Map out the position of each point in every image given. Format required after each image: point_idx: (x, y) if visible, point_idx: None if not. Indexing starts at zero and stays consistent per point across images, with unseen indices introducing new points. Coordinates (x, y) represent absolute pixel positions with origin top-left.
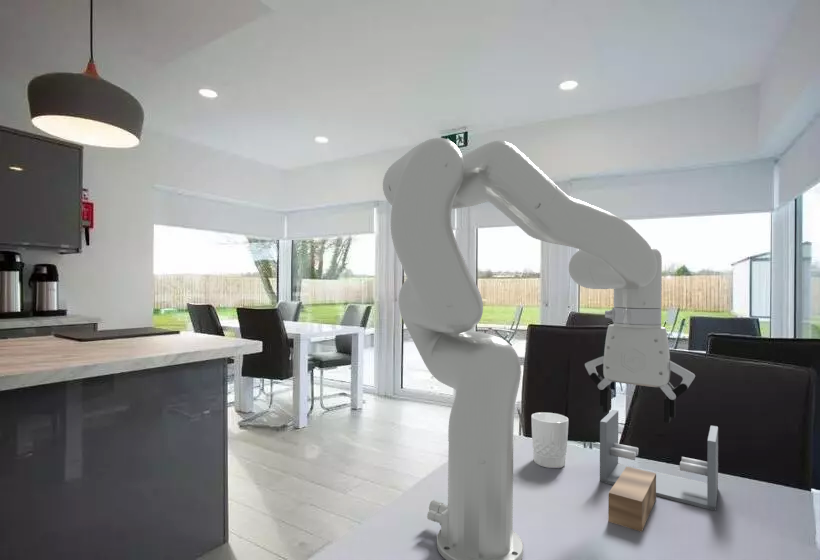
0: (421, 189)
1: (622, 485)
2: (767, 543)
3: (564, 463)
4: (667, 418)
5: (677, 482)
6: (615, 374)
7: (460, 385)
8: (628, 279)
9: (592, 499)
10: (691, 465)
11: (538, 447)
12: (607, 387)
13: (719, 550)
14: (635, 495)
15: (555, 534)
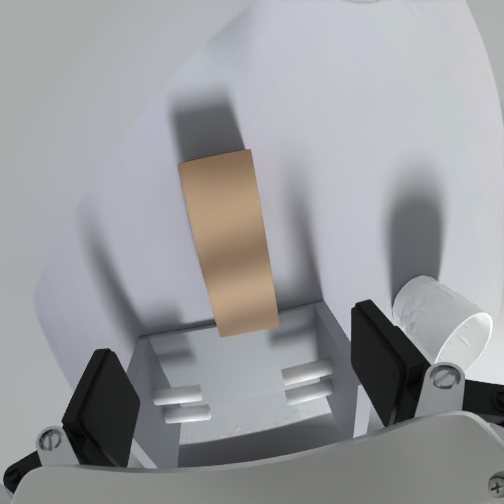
0: None
1: (244, 216)
2: (60, 285)
3: (394, 310)
4: (95, 358)
5: (217, 384)
6: (414, 475)
7: None
8: None
9: (305, 215)
10: (178, 396)
11: (446, 287)
12: (410, 401)
13: (84, 206)
14: (200, 185)
15: (291, 40)
